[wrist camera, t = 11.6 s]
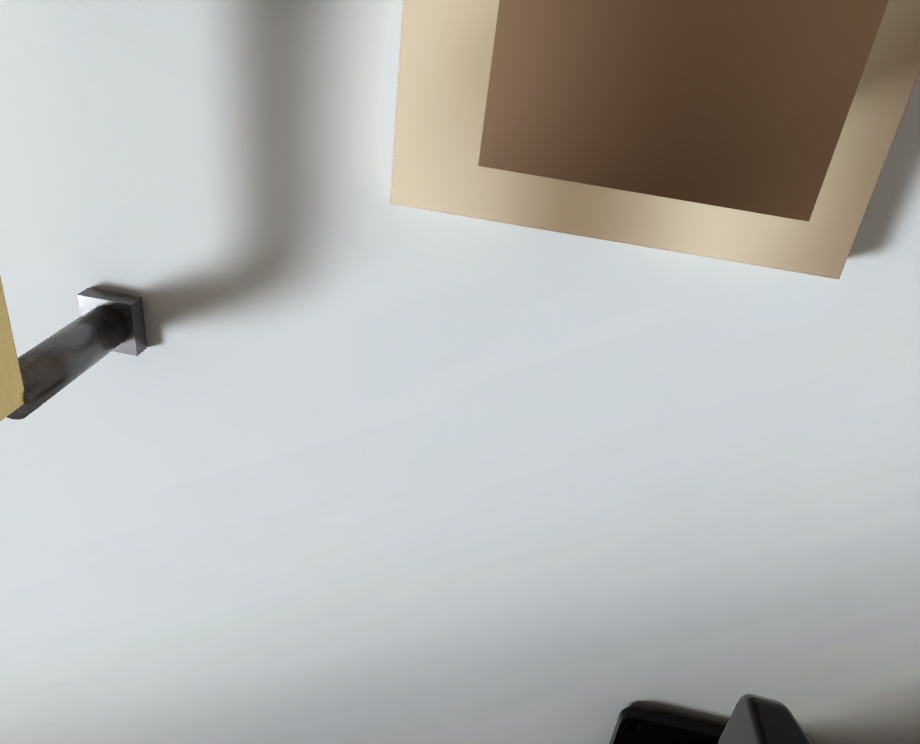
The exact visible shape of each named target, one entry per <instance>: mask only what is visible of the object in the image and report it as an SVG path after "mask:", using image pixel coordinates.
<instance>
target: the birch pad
mask: <svg viewBox="0 0 920 744" xmlns="http://www.w3.org/2000/svg"><path fill="white" fill-rule="evenodd" d="M498 8H499V0H403V9H402V25H401V40H400V56H399V71H398V87H397V102H396V118H395V134H394V149H393V165H392V180H391V196H390V204H394V205H400V206H406V207H412V208H418V209H424V210H430V211H436V212H442V213H448V214H454V215H460V216H466V217H472V218H478V219H483V220H489V221H495V222H501V223H507V224H513V225H519V226H525V227H531V228H537V229H543V230H549V231H555V232H561V233H567V234H573V235H579V236H585V237H590V238H596V239H602V240H608V241H614V242H620V243H626V244H632V245H638V246H644V247H650V248H656V249H662V250H668V251H674V252H680V253H686V254H692V255H698V256H703V257H709V258H715V259H721V260H727V261H733V262H739V263H745V264H751V265H757V266H763V267H769V268H775V269H781V270H787V271H793V272H799V273H805V274H810V275H816V276H822V277H828V278H834V279H839V278H840V276H841V273H842V270H843V268H844V265H845V263H846V260H847V258H848V255H849V252H850V250H851V247H852V245H853V242H854V240H855V237H856V234H857V232H858V229H859V227H860V224H861V221H862V219H863V216H864V214H865V211H866V209H867V206H868V203H869V201H870V198H871V196H872V193H873V191H874V188H875V185H876V183H877V180H878V178H879V175H880V173H881V170H882V167H883V165H884V162H885V160H886V157H887V155H888V152H889V149H890V147H891V144H892V142H893V139H894V137H895V134H896V131H897V129H898V126H899V124H900V121H901V119H902V116H903V113H904V111H905V108H906V106H907V103H908V101H909V98H910V95H911V93H912V90H913V88H914V85H915V83H916V80H917V77H918V75H919V72H920V0H889V2H888V5H887V7H886V10H885V13H884V16H883V18H882V21H881V24H880V27H879V29H878V32H877V35H876V38H875V40H874V43H873V46H872V49H871V52H870V54H869V57H868V60H867V63H866V65H865V68H864V71H863V74H862V76H861V79H860V82H859V85H858V88H857V90H856V93H855V96H854V99H853V101H852V104H851V107H850V110H849V112H848V115H847V118H846V121H845V123H844V126H843V129H842V132H841V135H840V137H839V140H838V143H837V146H836V148H835V151H834V154H833V157H832V159H831V162H830V165H829V168H828V170H827V173H826V176H825V179H824V182H823V184H822V187H821V190H820V193H819V195H818V198H817V201H816V204H815V206H814V209H813V212H812V215H811V217H810V220H809V222H808V221H802V220H796V219H790V218H784V217H778V216H772V215H766V214H760V213H754V212H748V211H743V210H737V209H731V208H725V207H719V206H713V205H707V204H701V203H695V202H689V201H683V200H677V199H671V198H665V197H659V196H654V195H648V194H642V193H636V192H630V191H624V190H618V189H612V188H606V187H600V186H594V185H588V184H582V183H576V182H570V181H564V180H559V179H553V178H547V177H541V176H535V175H529V174H523V173H517V172H511V171H505V170H499V169H493V168H487V167H481V166H478V163H479V155H480V147H481V140H482V132H483V124H484V116H485V108H486V101H487V93H488V85H489V77H490V70H491V62H492V54H493V46H494V39H495V31H496V23H497V15H498Z"/></svg>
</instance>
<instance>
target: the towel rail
mask: <svg viewBox="0 0 920 744" xmlns="http://www.w3.org/2000/svg"><path fill="white" fill-rule="evenodd" d="M77 296H78V303H79V309H80V315H81V317H79V318H78V319H76V320H75V321H73V322H72V323H70V324H69V325H67V326H66V327H64V328H63V329H61V330H60V331H58V332H57V333H55V334H53V335H52V336H50V337H49V338H47V339H46V340H44V341H43V342H41V343H40V344H38V345H37V346H35V347H34V348H32V349H31V350H29V351H28V352H26V353H25V354H23V355H22V356H20V357H19V358H17V353H16V349H15V344H14V339H13V334H12V330H11V325H10V320H9V315H8V311H7V306H6V301H5V296H4V292H3V287H2V282H1V277H0V421H1V420H3V419H4V418H5V417H8V418H11V419H23V418H25V417H26V416H28V415H29V414H30V413H32V412H33V411H34V410H36V409H37V408H38V407H39V406H41V405H42V404H43V403H45V402H46V401H47V400H49V399H50V398H51V397H52V396H54V395H55V394H56V393H58V392H59V391H60V390H62V389H63V388H64V387H65V386H67V385H68V384H69V383H71V382H72V381H73V380H75V379H76V378H77V377H78V376H80V375H81V374H82V373H84V372H85V371H86V370H87V369H89V368H90V367H91V366H93V365H94V364H95V363H97V362H98V361H99V360H100V359H102V358H103V357H104V356H106V355H107V354H108V353H110V352H111V351H115V352H120V353H125V354H130V355H135V356H138V355H139V354H140V353H141V352H143V351H144V350H145V349H146V348H147V346H146V337H145V328H144V319H143V310H142V301H141V298H139V297H134V296H129V295H124V294H118V293H113V292H108V291H102V290H97V289H92V288H87V289H86V290H84V291H82V292H81V293H79V294H78V295H77Z"/></svg>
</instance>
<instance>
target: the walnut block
mask: <svg viewBox="0 0 920 744" xmlns="http://www.w3.org/2000/svg"><path fill="white" fill-rule="evenodd" d="M888 2H889V0H499V8H498V15H497V23H496V31H495V39H494V46H493V54H492V62H491V70H490V77H489V85H488V93H487V101H486V108H485V116H484V124H483V132H482V140H481V147H480V155H479V163H478V166H481V167H487V168H493V169H499V170H505V171H511V172H517V173H523V174H529V175H535V176H541V177H547V178H553V179H559V180H564V181H570V182H576V183H582V184H588V185H594V186H600V187H606V188H612V189H618V190H624V191H630V192H636V193H642V194H648V195H654V196H659V197H665V198H671V199H677V200H683V201H689V202H695V203H701V204H707V205H713V206H719V207H725V208H731V209H737V210H743V211H748V212H754V213H760V214H766V215H772V216H778V217H784V218H790V219H796V220H802V221H808V222H809V220H810V217H811V215H812V212H813V209H814V206H815V204H816V201H817V198H818V195H819V193H820V190H821V187H822V184H823V182H824V179H825V176H826V173H827V170H828V168H829V165H830V162H831V159H832V157H833V154H834V151H835V148H836V146H837V143H838V140H839V137H840V135H841V132H842V129H843V126H844V123H845V121H846V118H847V115H848V112H849V110H850V107H851V104H852V101H853V99H854V96H855V93H856V90H857V88H858V85H859V82H860V79H861V76H862V74H863V71H864V68H865V65H866V63H867V60H868V57H869V54H870V52H871V49H872V46H873V43H874V40H875V38H876V35H877V32H878V29H879V27H880V24H881V21H882V18H883V16H884V13H885V10H886V7H887V5H888Z"/></svg>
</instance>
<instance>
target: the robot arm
mask: <svg viewBox="0 0 920 744" xmlns="http://www.w3.org/2000/svg"><path fill="white" fill-rule="evenodd" d="M610 744H812V743H811V741H810V740H809V738H808V737H807V735H806V734H805V732H804V731H803V729H802V728H801V726H800V725H799V723H798V722H797V721H796V719H795V718H794V716H793V715H792V713H791V712H790V710H789V709H788V708H787V707H786V706H785V705H784V704H783V703H781V702H779V701H776V700H772V699H768V698H764V697H760V696H756V695H753V694H745V695H743V696H742V697H741V698H740V699H739V701H738V702H737V704H736V707H735V709H734V711H733V713H732V715H731V717H730V719H729V721H728V723H727V725H726V727H725V728H723V727H719V726H715V725H710V724H706V723H702V722H698V721H693V720H689V719H685V718H681V717H676V716H672V715H668V714H664V713H659V712H655V711H651V710H647V709H642V708H638V707H628V708H625V709H623V710H622V711H621V712H620V714H619V717H618V720H617V723H616V726H615V729H614V732H613V735H612V738H611V741H610Z"/></svg>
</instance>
